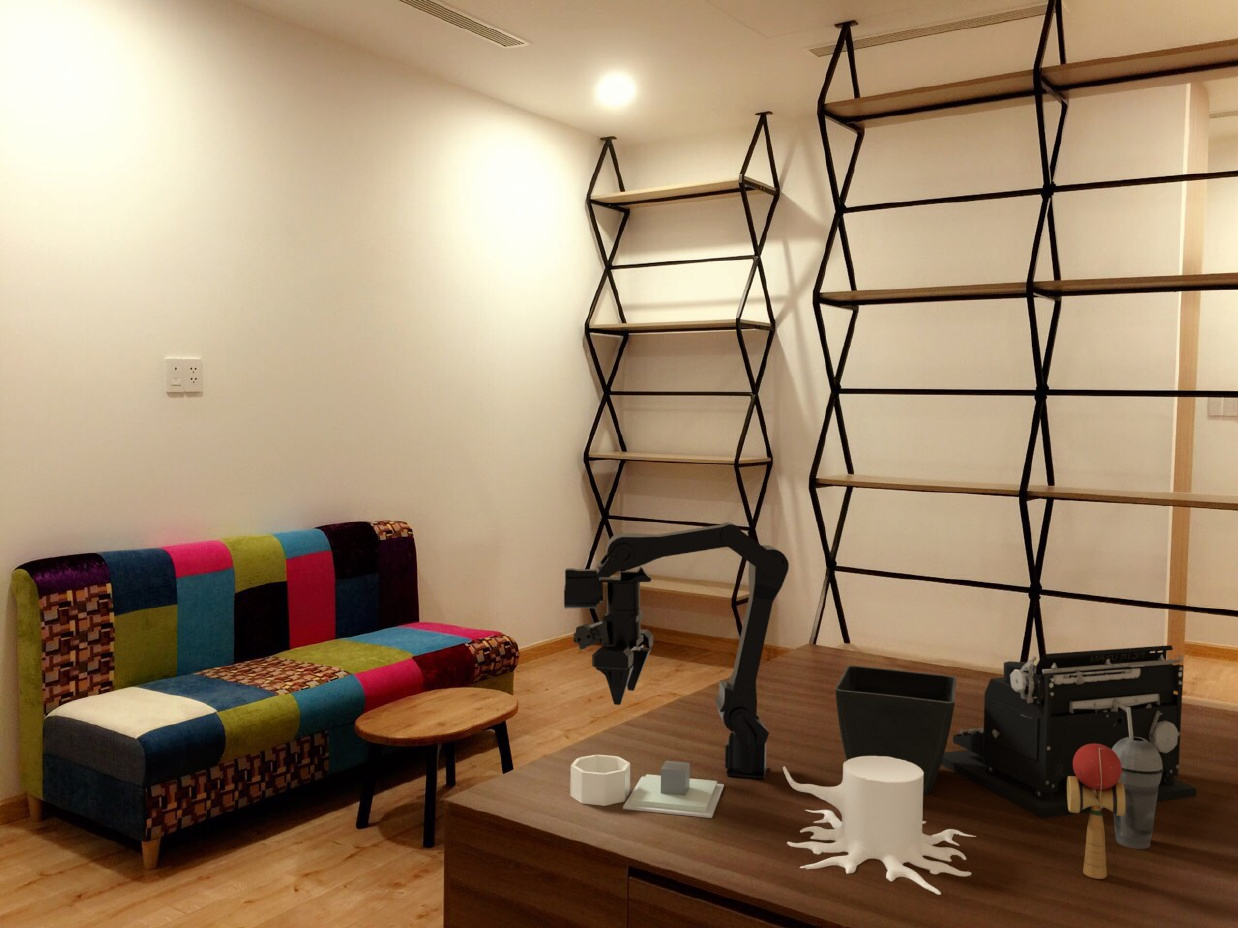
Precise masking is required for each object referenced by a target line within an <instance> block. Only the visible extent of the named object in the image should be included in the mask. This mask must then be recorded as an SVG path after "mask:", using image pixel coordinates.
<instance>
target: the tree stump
mask: <svg viewBox="0 0 1238 928" xmlns="http://www.w3.org/2000/svg"><path fill="white" fill-rule="evenodd" d="M782 769H783V772H784V773H783V774H784V775H785V778H786V780H787V782H788V783H789V785H790V787H792V789H793V790H796V792H797V791H798V792H802V793H808V794H811V795H813V796H815V797H817V798H818V799H820V800H822V801H825V802H827V803H829V804H830V805H832V806H833V807H834V808H836V809H837V810H838V811H839V812H840V814H841V820H840V819H839V818H838V817H837V816H836V814H835V812H833V810H830V809H821V810H819V809H818V810H809V809H805V811H807V812H809V813H814V814H815V813H816V814H823V815H824V816H823V818H822V819H820V820H816V821H813V823H814V824H824V823H825V824H826V823H830V825H831V826H832V828H833V829H827V828H823V827H821V826H818V825H817V826H816V825H814V826H809V827H804V828H802V829H800V831H799V832H800V833H804V832H811V833H813V835H812V836H810V837H809V838H810V839H811V840H820V841H834V842H831V843H827V842H826V843H825V842H819V841H804V842H797V843H796V842H792V841H787V842H786V844H787V845H788V846H790V847H792V848H793V847H794V848H800V849H801V848H802V849H808V850H810V851H812V852H813V854H816V855H821V854H822V853H830V854H831V853H832V854H834V853H843V852H845V853H848V854H846V855H838V856H832V857H829V858H826V859H823V860H821V861H818V862H816V863H811V864H805V865H802V866H800V867H799V869H805V870H814V869H815V870H816V869H817V870H818V869H821V868H825V867H829V866H830V867H831V866H838V867H841V868H844V869H845V872H846V874H853V873H855V872H856V870H857V866H859V865H860V864H862V863H864V862H865V861H866V860H869V859H870V860H871V859H873V860H874V859H876V860H878V861H879V860H880V862H882V863H883V865H884V866H885V868H886V870H887V871H886V875H885V877H886V879H887V880H888V881H890V882H893V881H895V880H896V879H897V878H906V879H910V880H912V881H913V882H914V883H916V884H918V885H919V886H921V887H922V888H924V889H925V890H928V891H930V892H933V893H935V894H936V895H942V892H941V891H940V890H939V889H938V888H936V887H934V886H932V885H931V884H929V883H928V882H927V881H925V879H924V877H922V876H921V875H920V874H919V873H918V872H916V870H914V869H912V868H909V867H907V866H906V865H905V866H904V863H910V864H912V865H913V866H916V867H918V868H921V869H925V870H928V871H929V873H930V874H932V875H938V874H940V873H945V874H946V873H947V874H950V875H954V876H958V877H968V876H969V877H970V876H971V875H972V872H970V871H963V870H959V869H957V868H955V867H954V866H952V865H951V866H950V865H949V864H947V863H945V862H950V863H951V862H952V860H953V859H952V858H951V856H958V857H961V859H962V860H964V861H966V860H967V857H966V856H965V854H964V853H963V852H961V851H960V850H958V849H956V848H953V847H947V846H946V847H940V846H939V847H938V846H934V845H936V844H939V843H941V842H942V841H944V842H945V841H946V842H947V843H949V844H952V845H955V846H959V847H960V844H959V843H957V842H955V841H953V837H954V835H958V834H959V836H964V837H968V838H969V837H972V838H973V837H977V836H976V835H972V834H967V833H964V832H962V831H961V830H957V829H953V828H948V829H945V830H943V831H941V832H939V833H935V834H932V835H928V834H926V833H923V825H924V824H926V823H927V821H925V820H923V816H924V815H923V813H924V812H923V810H924V809H923V807H924V806H923V804H924V793H923V775H924V772H923V771H922V769H921V768H920V767H918V766H917V765H915V764H913V763H910V762H907V761H906V760H901V759H896V758H892V757H886V756H862V757H860V756H859V757H856V758H851V759H848V761H844V762H843V765H842V781H841V782H840V784H838V785H836V786H822V785H816V784H812V783H805V784H804V783H798V782H796V781H795V780H794V779H793V778H792V777H791V775H790V774H791V773H790V772H789V771H788V769H787V768H786V766H782ZM923 856H927V857H931V858H932V859H933V858H934V859H938V860H939V861H934V860H929V859H926V858H925V857H923ZM942 861H944V862H942Z"/></svg>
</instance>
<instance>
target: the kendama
mask: <svg viewBox="0 0 1238 928" xmlns="http://www.w3.org/2000/svg"><path fill="white" fill-rule="evenodd" d="M1073 769H1074V772H1075V774H1076V776H1077V777H1076V776H1068V778H1067V800H1068V809H1069V812H1072V813H1078V814H1080V813H1079V812H1080V811H1081V810H1083V809H1085V808H1087V807H1090V806H1091V810H1090V812H1089V816H1088V821H1087V828H1086V837H1085V839H1086V840H1085V841H1086V842H1085V849H1084V858H1083V859H1084V862H1083V867H1082V868H1083V870H1082V872H1083V874H1084V875H1085V876H1087V877H1088V878H1091V879H1096V880H1103V879H1106V878H1107V877H1108V872H1107V871H1108V870H1107V856H1106V854H1107V853H1106V838H1105V837H1106V835H1105V824H1104V817H1103V810H1102V808H1107V809H1106V810H1108V811H1110V812H1112V813H1113V815H1114V814H1115V815H1116V816H1124V814H1125V791H1124V785H1123V783H1122V782H1118V781H1119V779H1120V777H1121V773H1122V766H1121V762H1120V760H1119V758H1118V756H1117V755H1116V753H1115V752H1114V751H1113V750H1111V749H1110V748H1108V747H1106V746H1104V745H1101V744H1087V745H1084V746H1082V747H1081V748H1080V749H1079V750H1078V751H1077V752H1076V754H1075V756H1074V758H1073Z"/></svg>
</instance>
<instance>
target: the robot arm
mask: <svg viewBox="0 0 1238 928" xmlns="http://www.w3.org/2000/svg"><path fill="white" fill-rule="evenodd" d="M605 548H606V550H605V555H604V556H603V558H602V559H601V560H600V562H598V564H597V565H596V567H595V568H594V569H593V568H592V569H591V568H589V569H588V568H583V569H579V568H578V569H577V568H572V567H571V568H569V567H566V568H565V570H564V574H565V575H564V586H563V605H564V610H565V609H597V606H598V605H600V603H603V602H604V583H605V584H606V613H605V614H604V615H603V616H602V617H601V618H602V620H601V621H598V622H594V623H593V624H588V623H584V624H581V625H578V626H577V627H576V628H575V631H574V632H573V641H572V642H573V643H575V644H577V646H578V649H579V650H580V651H581V650H586V649H587V647H591V646H594V645H596V644H600V643H601V647H599V648H598V649H597V650H595V652H594V653H592V655H591V666H592V667H593V668H595V670H597V671H599V672H600V673H602V674H603V675H604V676H605V679H606V682H607V685H608V688H609V691H610V696H611V699H612V702H613V704H614V706H615V705H616V706H620V705H621V704H622V702H623V699H624V696H625V693H626V690H627V691H629V692H633V691H635V689H636V686H637V684H638V681H639V679H640V677H641V674H642V672H643V669H644V667H645V664H646V662H647V659H648V657H649V655H650V653H651V651H652V647H653V646H654V634H653V633H652V632H651V631H650V630H649V629H643V628H642V629H641V619H643V618H644V611H642V610H641V583H650V582H651V581H652V577H651V575H650V574H648V573H647V572H646V571H645V570H644V568H643V566H645V565H646V564H648V563H651V562H654V561H656V560H658V559H661V558H666V557H672V556H679V555H683V554H689V553H697V552H702V551H709V550H715V549H716V550H717V549H722V548H729V549H731V550H732V551H733V552H734V553H736V554H738V556H740V557H741V558H743V559H744V560H746V561H747V562H748V576H747V577H748V594H749V595H748V600H747V605H746V609H745V610H746V611H745V615H744V619H743V623H742V627H741V628H742V629H741V633H740V638H739V642H738V648H737V652H736V657H735V661H734V666H733V670H732V673H731V675H730V677H729V679H728V680H727V681H724V680H722V679H721V680H719V686H718V688H719V689H718V695H717V697H716V698H715V700H714V702H715V704H716V707H717V711H718V712H717V713H718V714H719V716H720V719H721V720H722V722H723V724H724V726H725V727H726V728H727V730H728V731H730V733H729V736H728V741H727V742H726V743H725V746H724V752H725V753H724V768H725V769H727V770H726V774H725V775H726V776H729V777H730V776H731V777H741V778H749V779H760V780H761V779H762V780H763V779H765V778H766V774H767V771H768V763H767V740H768V737H769V735H770V732H769V730H768V729H767V727H766V726H765V724H764V722H763V721H762V719H761V717H759V715H758V713H757V710H758V698H757V697H758V696H757V678H758V673H759V669H760V665H761V658H762V655H763V651H764V646H765V641H766V640H765V639H766V635H767V632H768V626H769V623H770V622H769V621H770V618H771V613H772V608H773V604H774V601H775V599H776V598H777V596H778V594H779V592H780V591H781V589H782V587H783V585H784V582H785V580H786V577H787V575H788V572H789V568H790V567H789V566H790V563H789V560H788V558H787V557H786V555H785V554H784V553H783V552H782V551H781V550H779V549H778V548H777V547H774V546H771V545H767V544H766V545H765V544H763V545H761V543H759V542H757V541H756V540H754V539H753V538H752V537H750V536H749V535H748V534H746V533H745V532H744V531H742V530H741V528H740V527H739V526H737V525H736V524H735V523H733V522H729V521H728V522H727V521H726V522H723V523H721V524H718V525H710V526H704V527H698V528H690V529H685V530H678V531H677V530H676V531H671V532H665V533H659V534H658V533H657V534H652V533H650V534H649V533H633V532H632V533H631V532H630V533H629V532H628V533H627V532H626V533H625V532H624V533H622V532H619V533H616V534H614V535H613V536H611V538H610V539H609V540H608V542H607V544H606V547H605ZM635 568H637V569H636V570H635V571H633V569H635ZM629 570H630V571H629ZM631 570H632V571H631ZM618 572H619V575H617V576H614V575H615V574H616V573H618ZM644 646H646V647H644Z"/></svg>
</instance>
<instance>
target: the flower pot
mask: <svg viewBox="0 0 1238 928" xmlns="http://www.w3.org/2000/svg"><path fill="white" fill-rule="evenodd" d="M956 685H957V678H956V677H955V676H952V675H943V674H935V673H934V674H933V673H926V672H917V671H907V670H899V669H898V670H897V669H889V668H881V667H880V668H879V667H868V666H859V665H847V667H846V668H845V670H844V672H843V674H842V676H841V678H840V679H839V681H838V683H837V685H836V686H835V701H836V710H837V711H836V712H837V720H838V725H839V727H838V728H839V731H840V737H841V743H842V746H843V747H842V749H843V753H844V755H845V760H846V761H848V759H851V758H856V757H859V756H860V757H862V756H886V757H892V758H896V759H901V760H906V761H907V762H910V763H913V764H915V765H917V766H918V767H920V768H921V769H922V771H923V772H924V775H923V795H924V794H931V792H932V791H933V788H934V785H935V782H936V780H937V777H938V774H939V771H940V768H941V766H942V765H941V763H942V759H943V756H944V752H946V748H947V744H948V740H949V735H950V730H951V726H952V720H953V717H954V710H955V703H956V702H955V701H956V699H955V698H956Z"/></svg>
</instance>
